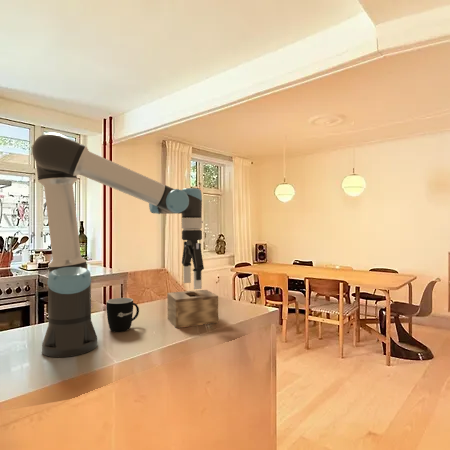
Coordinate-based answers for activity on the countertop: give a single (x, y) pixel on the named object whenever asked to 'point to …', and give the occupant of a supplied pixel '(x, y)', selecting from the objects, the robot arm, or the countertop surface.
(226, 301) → the countertop surface
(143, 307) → the countertop surface
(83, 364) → the countertop surface
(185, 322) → the coin box
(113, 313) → the mug
